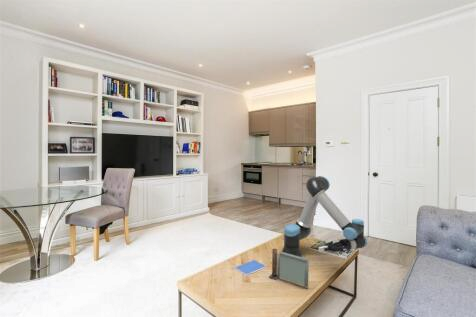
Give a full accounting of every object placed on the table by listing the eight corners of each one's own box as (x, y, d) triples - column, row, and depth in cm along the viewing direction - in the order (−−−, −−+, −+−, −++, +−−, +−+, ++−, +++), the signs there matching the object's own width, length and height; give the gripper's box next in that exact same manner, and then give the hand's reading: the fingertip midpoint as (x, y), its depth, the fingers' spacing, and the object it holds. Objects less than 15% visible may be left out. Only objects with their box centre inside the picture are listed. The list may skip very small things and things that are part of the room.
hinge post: (269, 277, 151) (269, 249, 151) (272, 274, 156) (273, 247, 155) (276, 280, 149) (276, 251, 148) (279, 276, 153) (280, 249, 152)
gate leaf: (276, 276, 150) (276, 252, 149) (278, 275, 152) (278, 251, 152) (307, 287, 139) (307, 260, 138) (308, 285, 141) (309, 259, 140)
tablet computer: (254, 261, 176) (254, 259, 176) (266, 267, 166) (267, 265, 166) (234, 269, 163) (234, 267, 163) (246, 276, 154) (246, 274, 153)
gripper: (355, 253, 154) (326, 259, 145) (339, 246, 166) (312, 251, 157) (355, 242, 154) (326, 247, 145) (339, 235, 166) (312, 240, 157)
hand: (319, 249), depth 151 cm, fingers closed
